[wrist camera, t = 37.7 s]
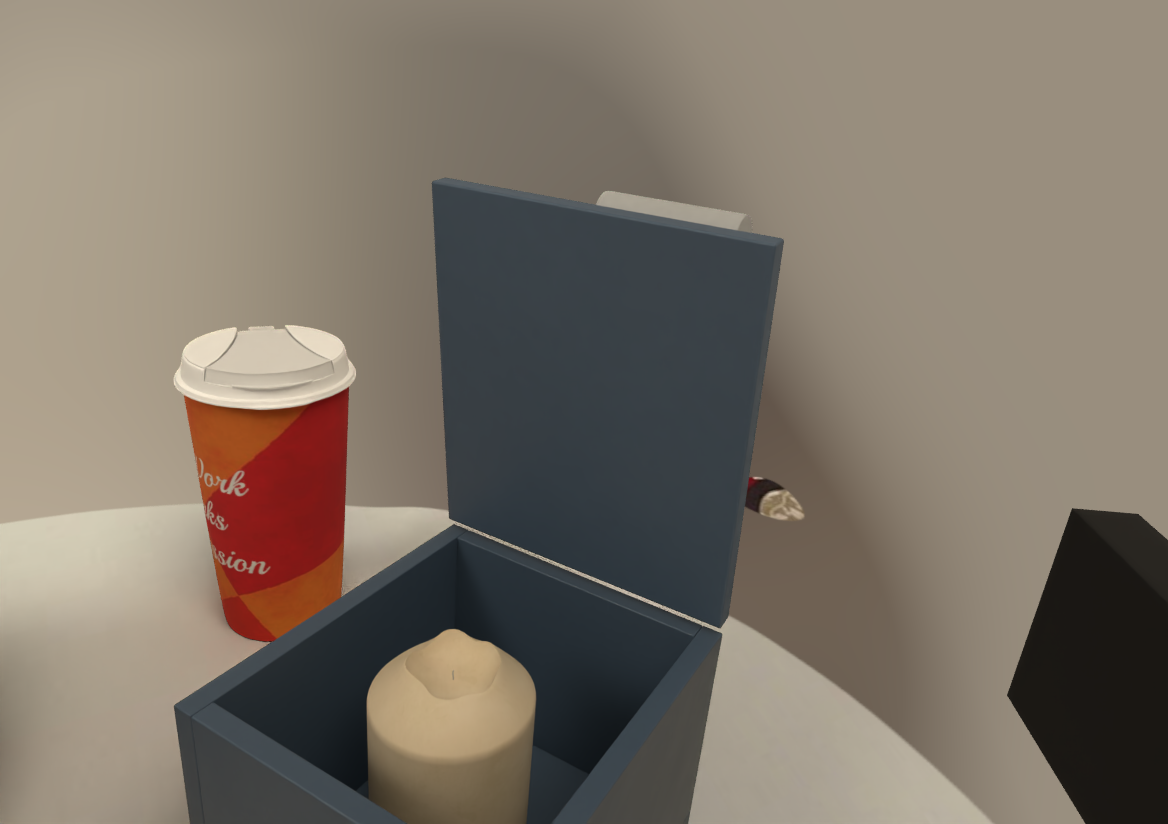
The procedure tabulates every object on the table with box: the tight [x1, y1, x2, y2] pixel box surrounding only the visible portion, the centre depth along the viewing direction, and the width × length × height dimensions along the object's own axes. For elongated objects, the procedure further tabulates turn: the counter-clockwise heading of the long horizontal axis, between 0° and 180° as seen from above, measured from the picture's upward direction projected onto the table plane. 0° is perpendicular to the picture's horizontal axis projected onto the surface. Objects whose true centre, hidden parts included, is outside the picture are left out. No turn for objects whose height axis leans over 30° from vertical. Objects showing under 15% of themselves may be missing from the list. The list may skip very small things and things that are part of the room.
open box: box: [174, 524, 722, 824], centre depth 30 cm, size 14×13×10 cm
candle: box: [367, 629, 536, 824], centre depth 29 cm, size 6×6×10 cm
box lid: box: [432, 178, 784, 628], centre depth 33 cm, size 14×13×8 cm
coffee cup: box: [174, 325, 356, 641], centre depth 43 cm, size 8×8×15 cm
